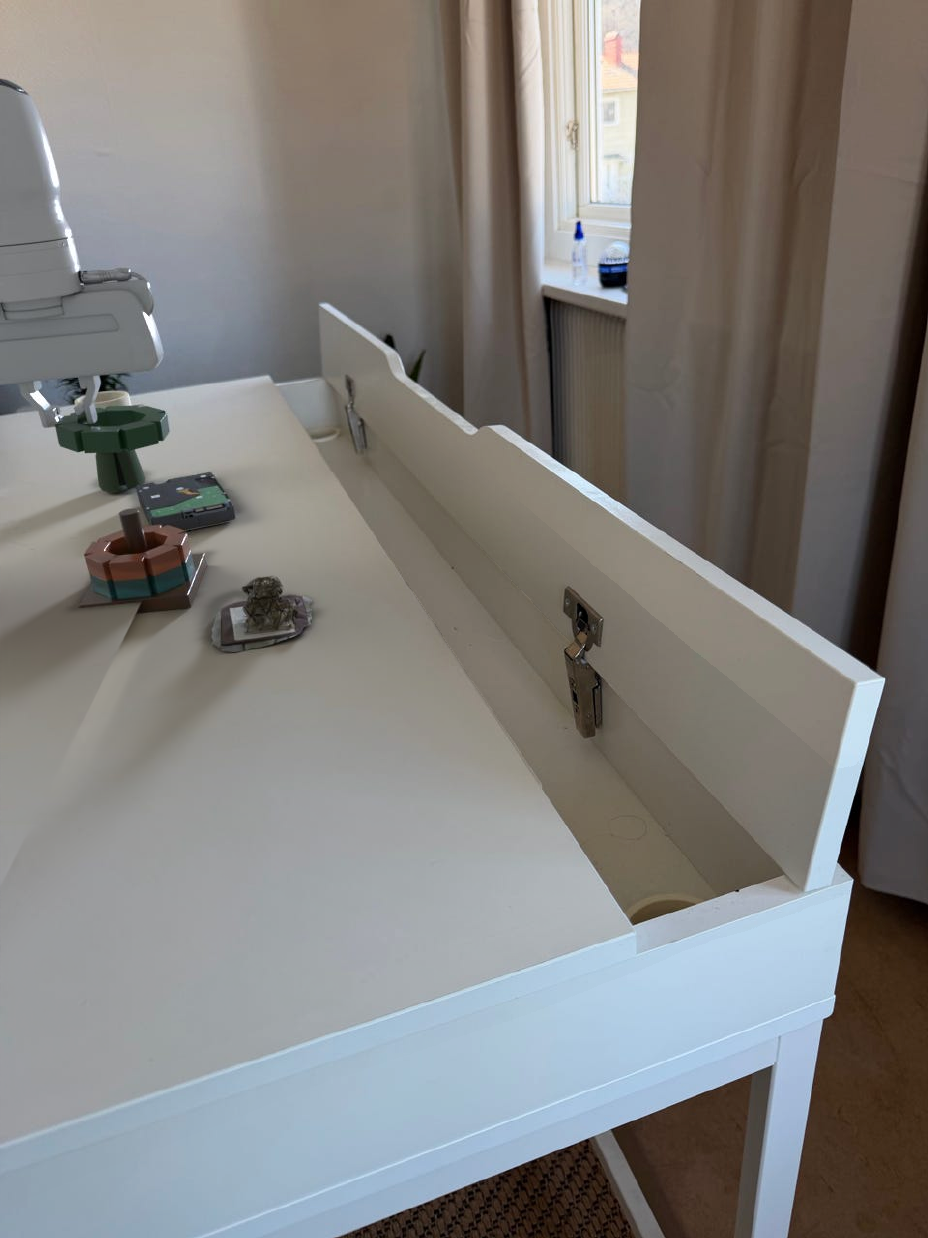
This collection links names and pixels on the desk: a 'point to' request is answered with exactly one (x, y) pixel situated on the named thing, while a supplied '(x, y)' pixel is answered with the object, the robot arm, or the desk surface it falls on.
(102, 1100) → the desk surface
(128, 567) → the ring stack
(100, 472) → the character mug
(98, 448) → the green ring
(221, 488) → the disk drive
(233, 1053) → the desk surface
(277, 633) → the figurine on base
